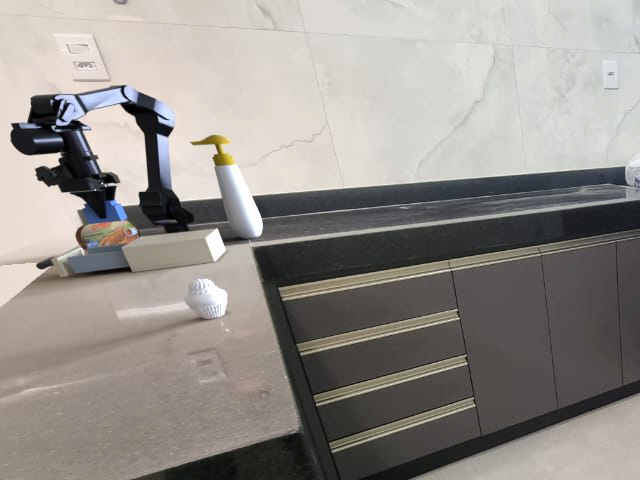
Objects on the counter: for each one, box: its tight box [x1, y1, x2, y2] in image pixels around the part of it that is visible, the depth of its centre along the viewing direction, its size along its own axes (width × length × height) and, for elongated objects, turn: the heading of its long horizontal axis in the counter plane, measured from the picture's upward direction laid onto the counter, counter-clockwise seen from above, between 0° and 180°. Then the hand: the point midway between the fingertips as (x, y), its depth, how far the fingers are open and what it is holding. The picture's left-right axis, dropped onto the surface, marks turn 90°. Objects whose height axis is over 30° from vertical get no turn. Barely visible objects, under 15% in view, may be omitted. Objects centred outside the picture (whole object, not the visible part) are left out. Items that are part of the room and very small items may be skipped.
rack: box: [35, 243, 130, 278], centre depth 130 cm, size 20×13×4 cm
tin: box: [74, 218, 142, 252], centre depth 151 cm, size 15×3×8 cm, turn 168°
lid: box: [81, 199, 128, 224], centre depth 134 cm, size 5×6×6 cm
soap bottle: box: [189, 134, 263, 240], centre depth 155 cm, size 13×10×29 cm
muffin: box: [183, 278, 228, 320], centre depth 94 cm, size 6×6×7 cm
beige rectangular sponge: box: [121, 228, 226, 273], centre depth 136 cm, size 17×15×6 cm
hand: (107, 217), depth 135 cm, fingers closed on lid, 4 cm apart
